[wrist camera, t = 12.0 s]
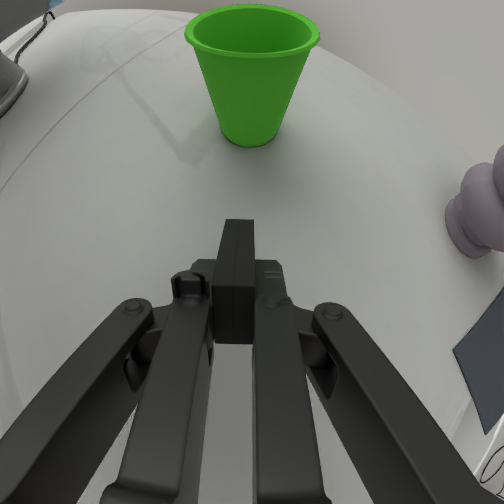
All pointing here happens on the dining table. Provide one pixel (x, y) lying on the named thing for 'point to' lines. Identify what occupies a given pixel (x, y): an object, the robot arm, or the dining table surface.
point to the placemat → (485, 363)
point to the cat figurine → (479, 209)
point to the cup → (251, 65)
